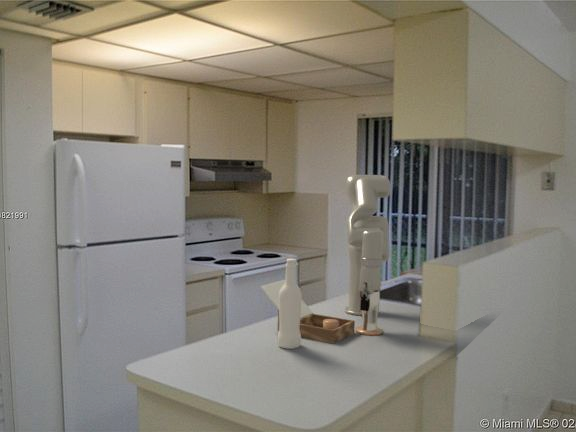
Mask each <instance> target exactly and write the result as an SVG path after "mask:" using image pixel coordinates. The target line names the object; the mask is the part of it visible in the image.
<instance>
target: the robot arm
mask: <svg viewBox="0 0 576 432" xmlns="http://www.w3.org/2000/svg"><path fill="white" fill-rule="evenodd" d="M345 190H346V195H347V198H348V201H349V203H350V204H349V205H350V207H351V211H350V214H349V217H348V218H347V222H346V236H347V237H346V238H347V243H348V258H349V284H348V285H349V287H348V306H347V307H345V308H344V312H345V313H347V314H349V315H355V316H362V310H363V311H369V300H368V299H369V296H370V295H371V294H373V292H378V290H379V294H380V295H381V286H382V283H381V282H382V280H381V279H382V277H381V272H382V271H381V269H382V263H384V262H387V261H388V260H389V258H390V228H389V221H388V219H387V218H386V217H384V216H382V215H381V216H380V215H374V214H376V213H377V212H378V209H379V205H378V204H379V203H378V198H381V199H382V198H383V199H384V198H386V199H387V198H388V197H389V196H390V195H391V191H392V188H391V182H390V179H389V178H388V177H387V176H385V175H382V174H381V175H380V174H353V175H350V176H348V177H347V179H346V181H345ZM366 295H367V296H366Z"/></svg>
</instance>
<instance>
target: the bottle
mask: <svg viewBox="0 0 576 432" xmlns="http://www.w3.org/2000/svg"><path fill="white" fill-rule="evenodd" d="M297 262H298V261H297V259H296V258H287V259H286V263H285V277H284V278H285V279H284V280H285V284H284V285H283V286H282V288H281V289H280V292H279V320H280V330H279V331H278V333H277V338H276V339H277V345H278V347H280V348H282V349H286V350H294V349H297V348H299V347H301V345H302V344H301V342H302V337H301V334H300V330H299V328H300V315H301V303H302V300H303V293H302V290H301V288H300V286H298V284H297V267H298V264H297Z"/></svg>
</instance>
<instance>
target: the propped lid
mask: <svg viewBox="0 0 576 432" xmlns="http://www.w3.org/2000/svg"><path fill="white" fill-rule="evenodd" d="M284 284H285V279H281V280H277V281H274V282H270V283H266V284H263V285H259V289H260V290H261V291H262V292H263V293H264V294H265V296H266V297H267V298H268V299H269V300H270V302H271V303H272V304H273V305H274V306H275V308H277V331H278V332H279V330H280V320H279V292H280V289H281V288H282V286H283V285H284ZM310 314H314V312H313V311H312V309H311V308H310V307H309V306H308V305H307V304H306V303H305V301H304V300H303V299H302V303H301V315H300V318H303V317H305V316H308V315H310Z"/></svg>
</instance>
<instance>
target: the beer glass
mask: <svg viewBox="0 0 576 432" xmlns="http://www.w3.org/2000/svg"><path fill="white" fill-rule="evenodd" d="M366 296H367V295H366ZM380 296H381V293H380V294H379V290H378V292H373V294H371V295H370V296H369V299H368V300H369V311H363V310H362V315H361V316H362V321H361V323H362V324H361V326H362V327H361V326H360V327H361V329H362V330H364V331H369V332H373V331H377V328H378V323H377V321H378V316H379V310H380V305H381V304H380V303H381V302H380V299H381V298H380Z"/></svg>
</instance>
